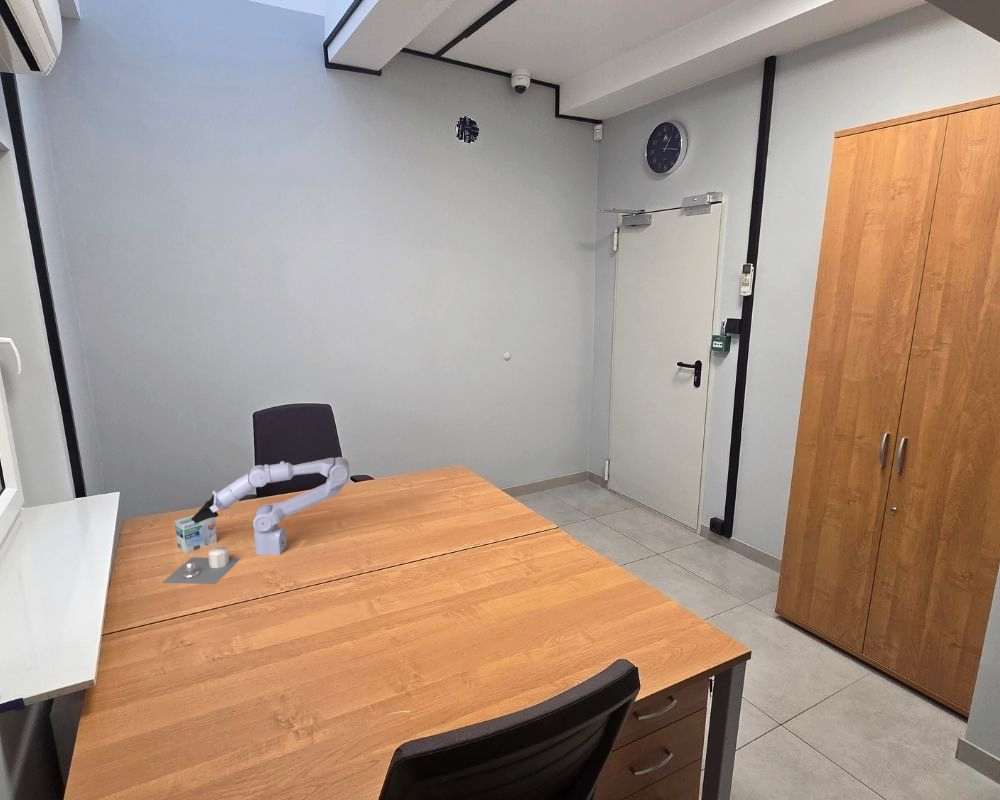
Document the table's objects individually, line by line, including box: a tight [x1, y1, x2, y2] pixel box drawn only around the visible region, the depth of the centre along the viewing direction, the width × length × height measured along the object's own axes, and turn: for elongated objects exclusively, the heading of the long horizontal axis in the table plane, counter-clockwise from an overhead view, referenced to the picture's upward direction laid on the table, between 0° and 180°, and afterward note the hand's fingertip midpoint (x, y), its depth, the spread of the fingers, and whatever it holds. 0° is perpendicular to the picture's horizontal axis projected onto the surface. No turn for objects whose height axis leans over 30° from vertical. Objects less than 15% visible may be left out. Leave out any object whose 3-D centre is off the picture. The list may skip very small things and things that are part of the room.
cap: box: [208, 546, 230, 568], centre depth 175 cm, size 5×5×4 cm
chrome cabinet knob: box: [183, 560, 199, 578], centre depth 168 cm, size 4×4×4 cm
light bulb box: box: [174, 514, 218, 554], centre depth 187 cm, size 11×7×11 cm, turn 143°
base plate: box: [161, 556, 242, 585], centre depth 171 cm, size 16×16×1 cm
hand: (197, 516), depth 177 cm, fingers open, 7 cm apart
